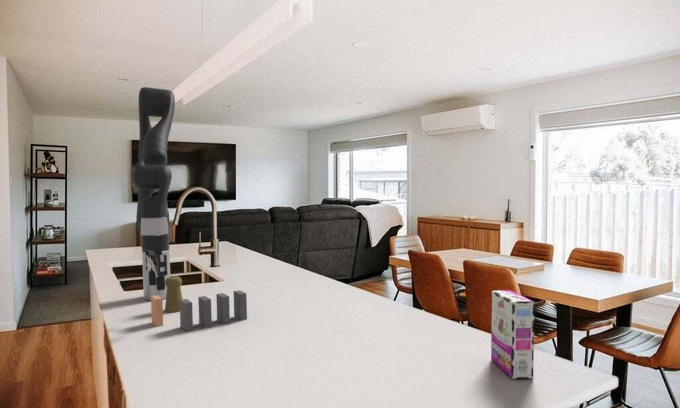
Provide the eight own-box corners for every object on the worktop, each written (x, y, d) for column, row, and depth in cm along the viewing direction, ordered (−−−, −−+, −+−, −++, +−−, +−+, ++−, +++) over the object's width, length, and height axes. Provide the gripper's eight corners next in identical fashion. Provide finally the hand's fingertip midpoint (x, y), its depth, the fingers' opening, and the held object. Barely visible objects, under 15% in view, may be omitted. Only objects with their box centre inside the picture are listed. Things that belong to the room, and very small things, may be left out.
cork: (177, 313, 149) (176, 279, 149) (160, 312, 151) (159, 278, 150) (187, 307, 155) (186, 275, 155) (171, 307, 156) (170, 274, 156)
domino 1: (180, 327, 135) (179, 299, 134) (187, 325, 136) (186, 298, 136) (185, 331, 131) (185, 303, 130) (192, 330, 132) (192, 302, 131)
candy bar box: (535, 379, 97) (535, 301, 96) (512, 380, 96) (512, 302, 96) (511, 358, 108) (511, 288, 107) (490, 359, 108) (490, 289, 107)
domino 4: (234, 316, 144) (233, 291, 144) (240, 315, 146) (239, 290, 145) (240, 320, 140) (240, 294, 140) (247, 319, 142) (246, 293, 141)
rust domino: (151, 322, 140) (150, 296, 139) (158, 321, 141) (157, 295, 140) (156, 326, 136) (155, 299, 135) (163, 325, 137) (162, 298, 136)
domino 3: (217, 320, 141) (216, 294, 141) (223, 318, 142) (222, 293, 142) (223, 324, 137) (222, 297, 137) (229, 322, 138) (229, 296, 138)
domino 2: (199, 323, 138) (198, 296, 138) (205, 322, 139) (204, 295, 139) (205, 327, 134) (204, 300, 134) (211, 326, 135) (211, 299, 135)
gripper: (135, 232, 140) (137, 285, 141) (147, 235, 129) (149, 293, 130) (161, 230, 145) (163, 282, 145) (175, 233, 133) (177, 289, 134)
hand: (156, 287), depth 138 cm, fingers open, 8 cm apart
